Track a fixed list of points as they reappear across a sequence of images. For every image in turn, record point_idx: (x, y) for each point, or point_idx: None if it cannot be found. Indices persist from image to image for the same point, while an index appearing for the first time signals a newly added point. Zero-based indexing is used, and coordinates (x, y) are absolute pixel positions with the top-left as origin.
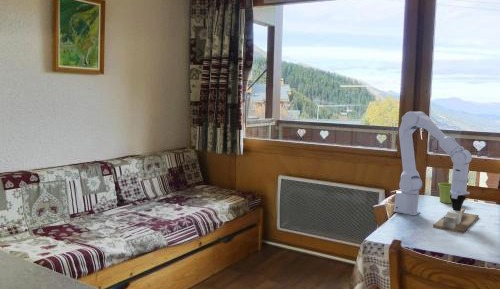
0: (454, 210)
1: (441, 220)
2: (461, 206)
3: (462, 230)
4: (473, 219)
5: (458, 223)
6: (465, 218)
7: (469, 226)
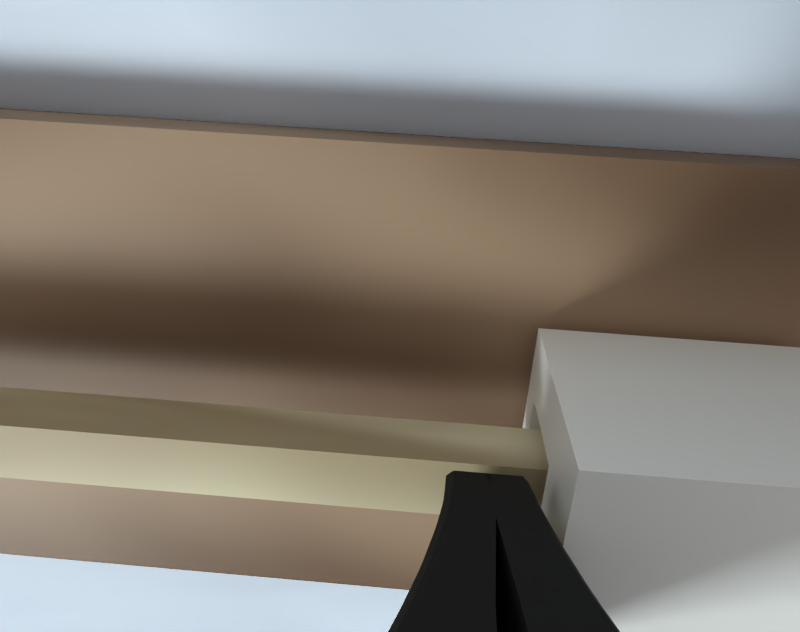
0: None
1: None
2: (469, 595)
3: None
4: (52, 139)
5: (788, 354)
6: (118, 288)
7: (562, 145)
